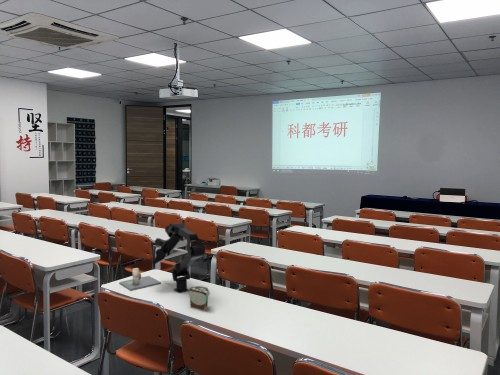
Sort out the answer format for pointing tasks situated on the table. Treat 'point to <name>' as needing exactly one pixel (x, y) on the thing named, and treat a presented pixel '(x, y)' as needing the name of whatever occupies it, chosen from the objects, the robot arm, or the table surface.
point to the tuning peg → (136, 276)
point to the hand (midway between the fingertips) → (155, 262)
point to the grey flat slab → (140, 283)
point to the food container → (199, 297)
